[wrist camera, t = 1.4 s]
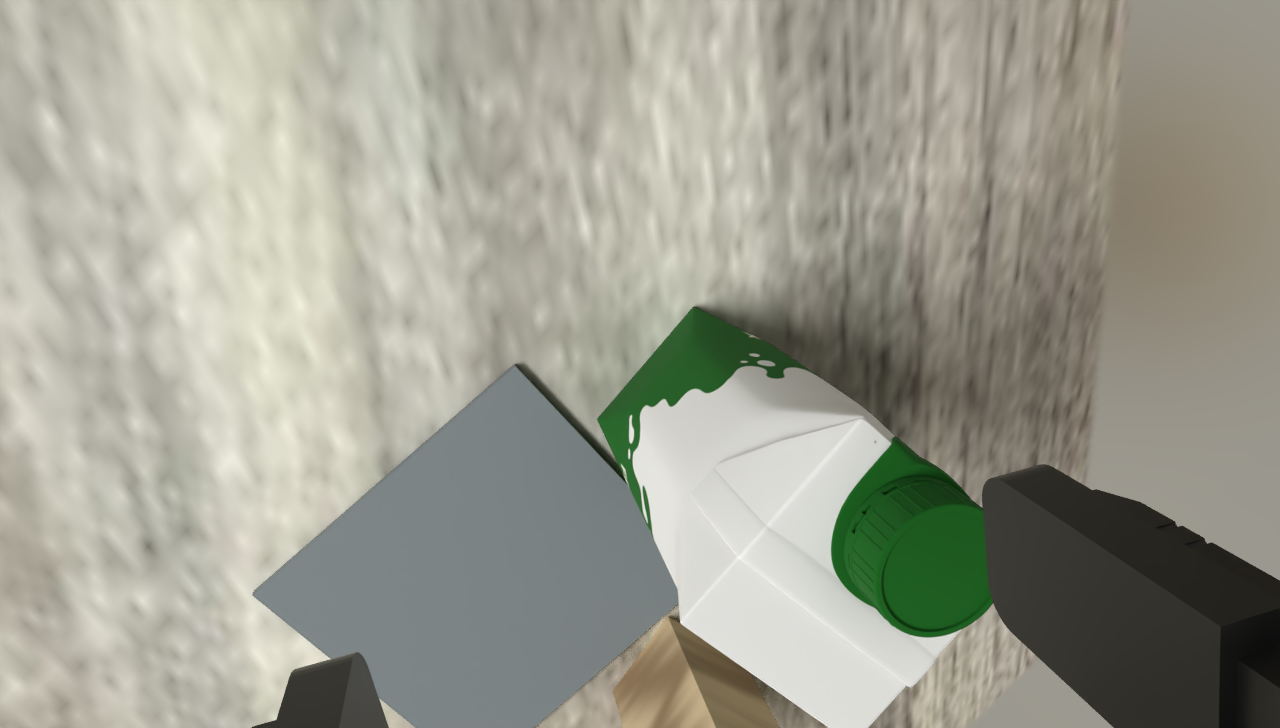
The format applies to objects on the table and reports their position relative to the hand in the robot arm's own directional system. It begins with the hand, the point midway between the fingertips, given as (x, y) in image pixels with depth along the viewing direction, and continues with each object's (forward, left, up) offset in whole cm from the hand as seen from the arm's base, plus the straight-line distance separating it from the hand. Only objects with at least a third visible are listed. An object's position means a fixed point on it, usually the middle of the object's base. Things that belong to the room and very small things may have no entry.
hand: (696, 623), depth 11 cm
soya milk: (-2, +11, -30) cm, 32 cm away
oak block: (+8, +22, -30) cm, 38 cm away
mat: (+11, +11, -30) cm, 33 cm away
